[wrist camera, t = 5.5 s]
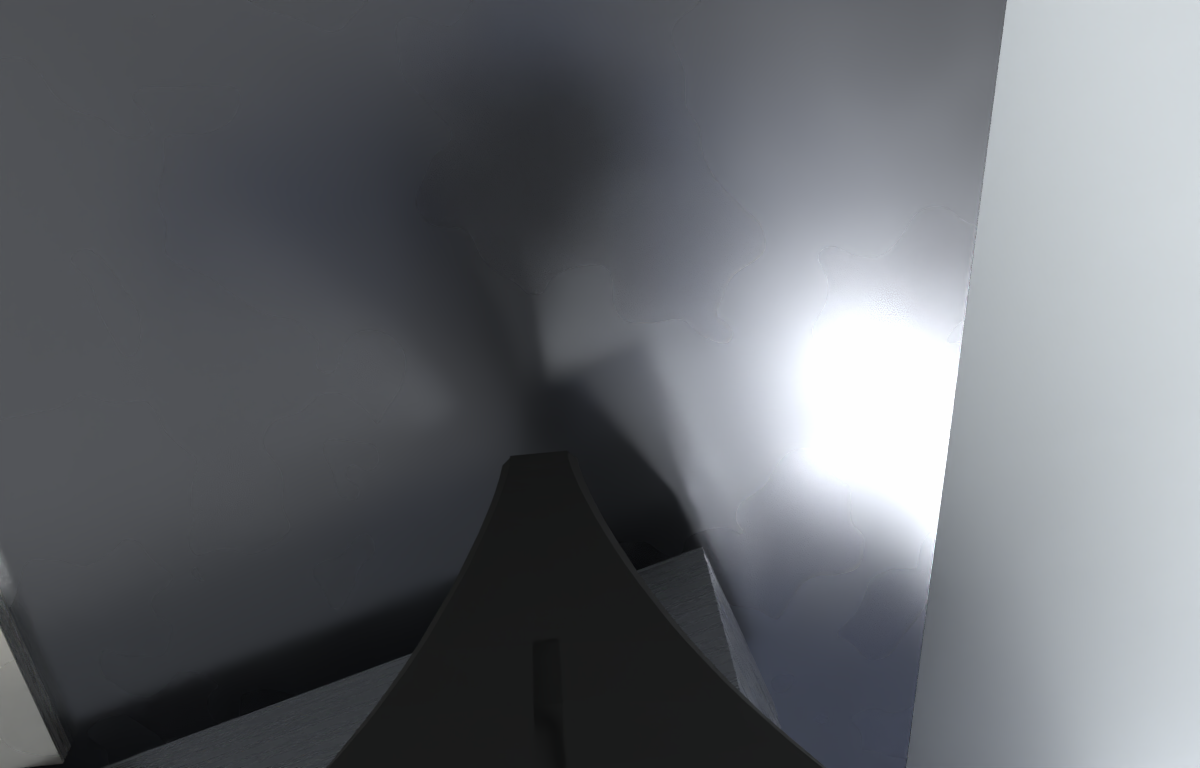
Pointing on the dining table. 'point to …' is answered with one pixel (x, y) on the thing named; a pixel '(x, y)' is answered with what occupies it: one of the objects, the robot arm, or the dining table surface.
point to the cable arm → (335, 711)
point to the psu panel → (469, 332)
